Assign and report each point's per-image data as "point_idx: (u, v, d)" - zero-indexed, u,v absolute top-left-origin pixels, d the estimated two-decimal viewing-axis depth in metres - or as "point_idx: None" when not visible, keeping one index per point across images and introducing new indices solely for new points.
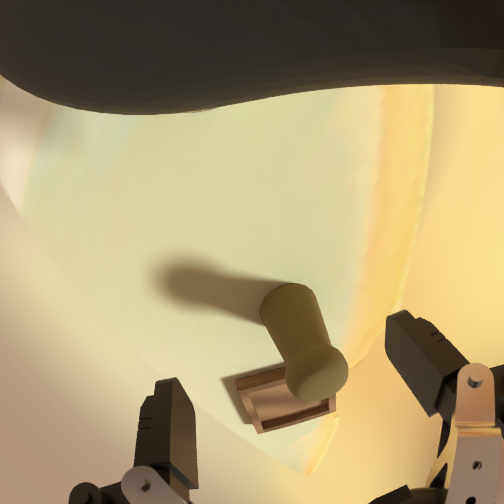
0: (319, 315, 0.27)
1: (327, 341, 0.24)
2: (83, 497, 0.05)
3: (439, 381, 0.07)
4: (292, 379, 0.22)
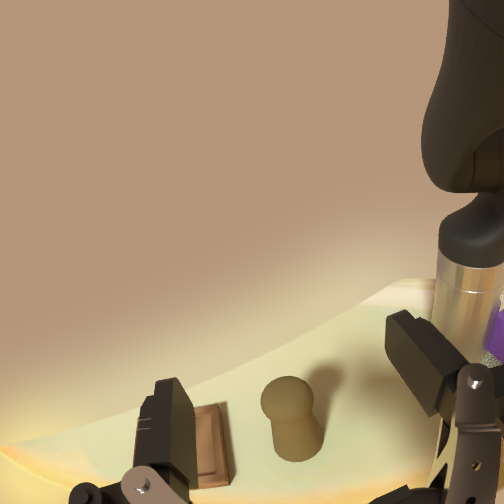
0: (310, 437, 0.28)
1: (305, 420, 0.27)
2: (82, 497, 0.05)
3: (439, 381, 0.07)
4: None
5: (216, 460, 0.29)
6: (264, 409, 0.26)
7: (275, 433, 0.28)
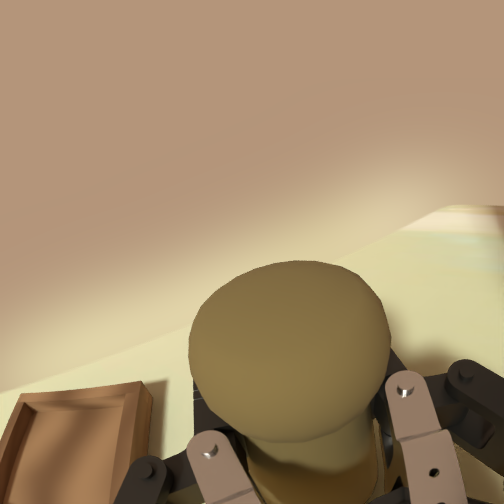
0: (360, 473, 0.08)
1: (356, 421, 0.07)
2: (145, 472, 0.06)
3: None
4: None
5: None
6: (195, 374, 0.07)
7: (251, 464, 0.08)
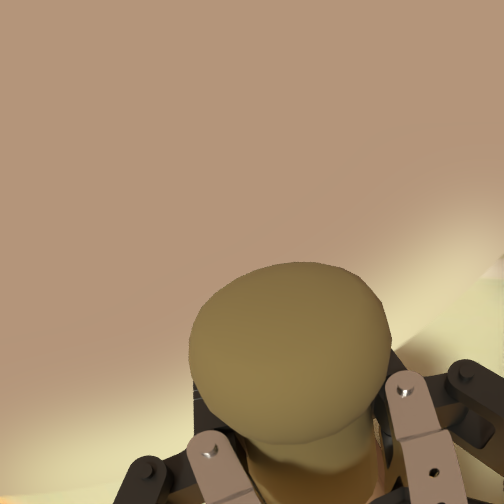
0: (360, 474, 0.08)
1: (357, 423, 0.07)
2: (145, 472, 0.06)
3: None
4: None
5: None
6: (195, 376, 0.06)
7: (251, 465, 0.08)
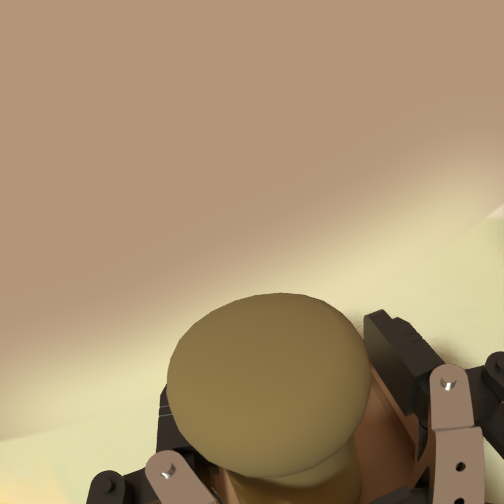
0: (341, 495, 0.08)
1: (335, 453, 0.07)
2: (105, 486, 0.05)
3: (412, 381, 0.07)
4: None
5: None
6: (172, 411, 0.06)
7: (234, 484, 0.08)
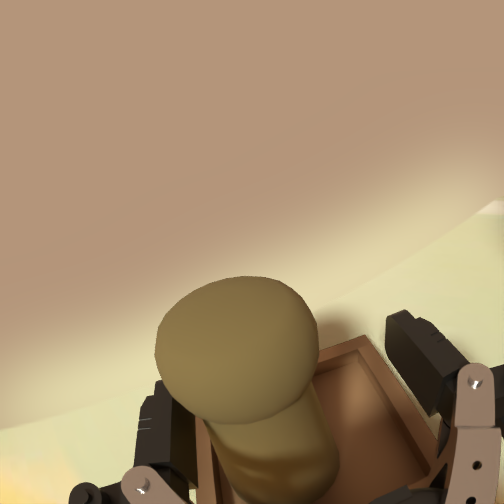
0: (312, 460, 0.10)
1: (296, 411, 0.09)
2: (82, 497, 0.05)
3: (439, 381, 0.07)
4: None
5: (421, 442, 0.11)
6: (159, 368, 0.08)
7: (216, 448, 0.10)
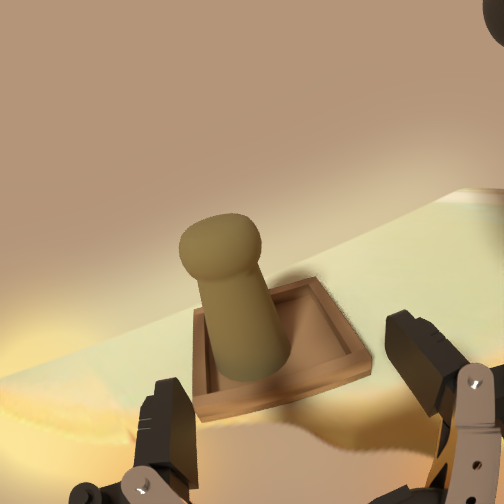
0: (264, 326, 0.20)
1: (250, 281, 0.19)
2: (83, 498, 0.05)
3: (439, 381, 0.07)
4: None
5: (344, 335, 0.21)
6: (181, 252, 0.18)
7: (207, 317, 0.20)
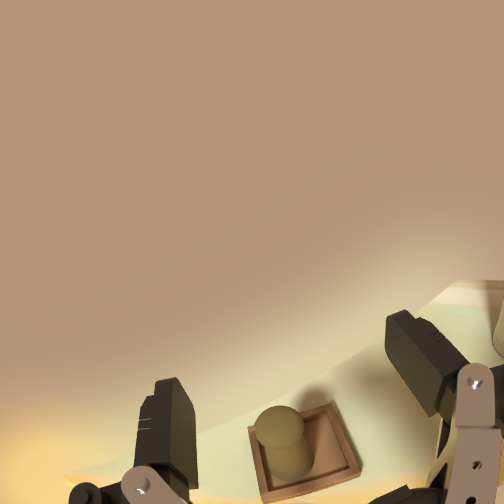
0: (302, 459, 0.28)
1: (296, 445, 0.27)
2: (82, 497, 0.05)
3: (439, 381, 0.07)
4: None
5: (347, 455, 0.29)
6: (258, 437, 0.27)
7: (268, 456, 0.29)
